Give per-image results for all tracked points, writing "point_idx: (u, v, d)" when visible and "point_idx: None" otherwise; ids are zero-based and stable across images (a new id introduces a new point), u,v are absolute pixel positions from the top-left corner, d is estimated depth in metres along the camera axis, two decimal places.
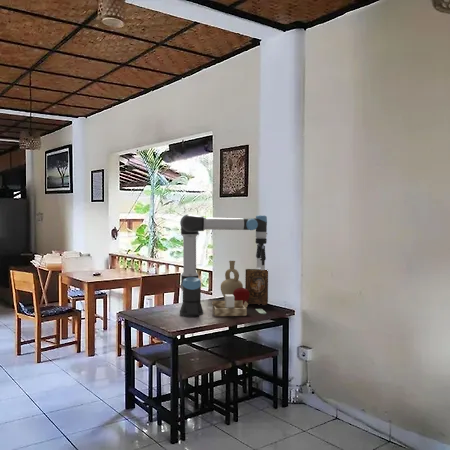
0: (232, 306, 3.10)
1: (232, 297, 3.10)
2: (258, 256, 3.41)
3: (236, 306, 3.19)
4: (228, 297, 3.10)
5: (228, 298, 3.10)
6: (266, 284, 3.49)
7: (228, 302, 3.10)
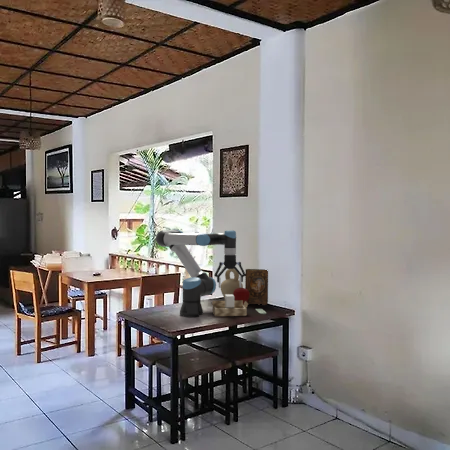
0: (232, 306, 3.10)
1: (232, 297, 3.10)
2: None
3: (236, 306, 3.19)
4: (228, 297, 3.10)
5: (228, 298, 3.10)
6: (266, 284, 3.48)
7: (228, 302, 3.10)
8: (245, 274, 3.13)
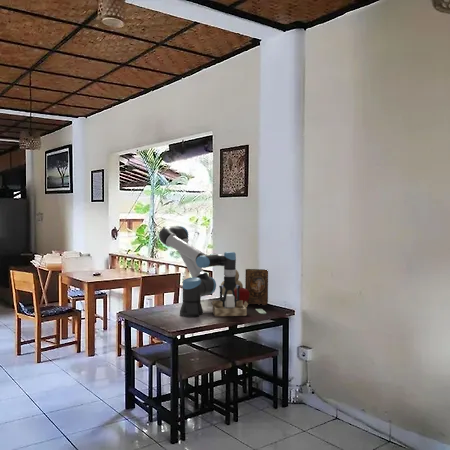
0: (232, 306, 3.10)
1: (232, 297, 3.10)
2: None
3: (236, 306, 3.19)
4: (228, 297, 3.10)
5: (228, 298, 3.10)
6: (266, 284, 3.49)
7: (228, 302, 3.10)
8: None
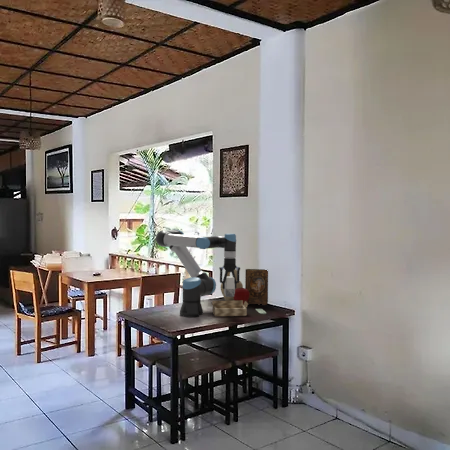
0: (232, 288, 3.10)
1: (232, 279, 3.10)
2: None
3: (236, 306, 3.19)
4: (228, 279, 3.09)
5: (228, 280, 3.09)
6: (266, 284, 3.49)
7: (228, 284, 3.09)
8: None
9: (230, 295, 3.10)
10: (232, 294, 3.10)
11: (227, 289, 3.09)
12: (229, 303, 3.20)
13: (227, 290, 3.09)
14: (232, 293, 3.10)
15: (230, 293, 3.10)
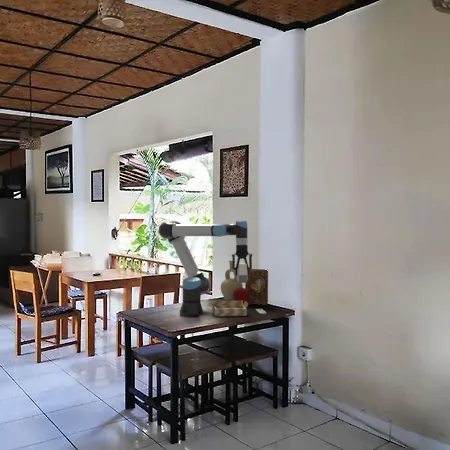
0: (245, 274, 3.14)
1: (244, 265, 3.14)
2: None
3: (236, 306, 3.19)
4: (240, 265, 3.13)
5: (240, 266, 3.13)
6: (266, 284, 3.49)
7: (241, 270, 3.13)
8: (251, 267, 3.17)
9: (243, 281, 3.14)
10: (245, 280, 3.14)
11: (240, 275, 3.13)
12: (229, 303, 3.20)
13: (240, 276, 3.13)
14: (245, 279, 3.14)
15: (243, 279, 3.14)
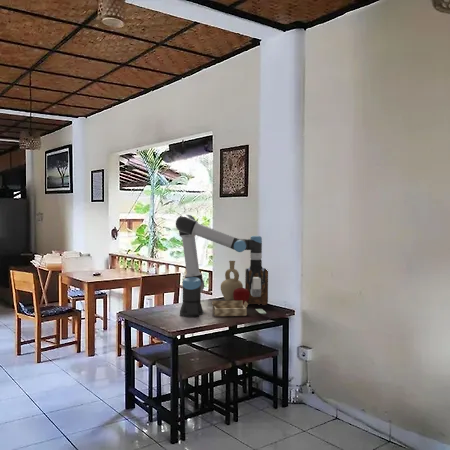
0: (259, 288, 3.21)
1: (258, 279, 3.21)
2: None
3: (236, 306, 3.19)
4: (255, 279, 3.20)
5: (255, 280, 3.20)
6: (266, 284, 3.49)
7: (255, 284, 3.20)
8: None
9: (257, 295, 3.21)
10: (259, 294, 3.21)
11: (254, 289, 3.20)
12: (229, 303, 3.20)
13: (254, 290, 3.20)
14: (259, 293, 3.21)
15: (257, 293, 3.21)
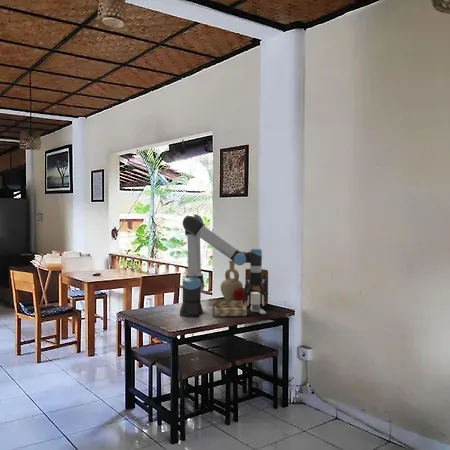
0: (258, 303, 3.21)
1: (258, 295, 3.21)
2: None
3: (236, 306, 3.19)
4: (254, 295, 3.20)
5: (254, 296, 3.20)
6: (266, 284, 3.48)
7: (254, 299, 3.21)
8: None
9: (256, 310, 3.21)
10: (258, 309, 3.21)
11: (253, 305, 3.21)
12: (229, 303, 3.20)
13: (253, 306, 3.21)
14: (258, 308, 3.21)
15: (256, 308, 3.21)
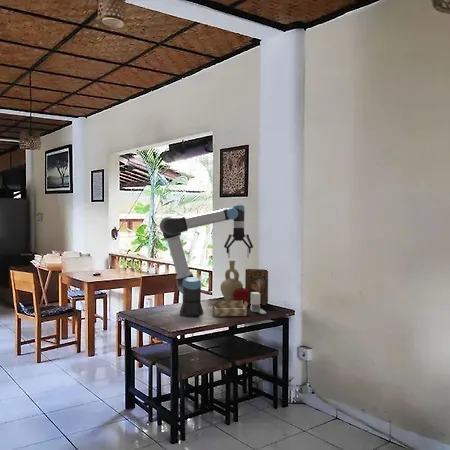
0: (258, 303, 3.21)
1: (258, 295, 3.21)
2: (247, 246, 3.38)
3: (236, 306, 3.19)
4: (254, 295, 3.20)
5: (254, 296, 3.20)
6: (266, 284, 3.49)
7: (254, 299, 3.21)
8: (252, 246, 3.37)
9: (256, 310, 3.21)
10: (258, 309, 3.21)
11: (253, 305, 3.21)
12: (229, 303, 3.20)
13: (253, 306, 3.21)
14: (258, 308, 3.21)
15: (256, 308, 3.21)
